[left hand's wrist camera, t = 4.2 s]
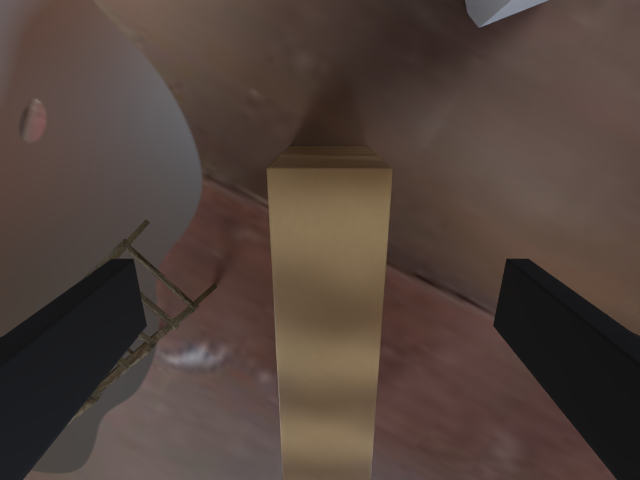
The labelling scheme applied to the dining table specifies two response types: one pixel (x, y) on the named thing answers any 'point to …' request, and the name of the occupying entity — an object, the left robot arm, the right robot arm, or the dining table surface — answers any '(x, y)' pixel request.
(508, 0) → the electronic device
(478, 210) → the dining table surface
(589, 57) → the dining table surface
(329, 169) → the box
